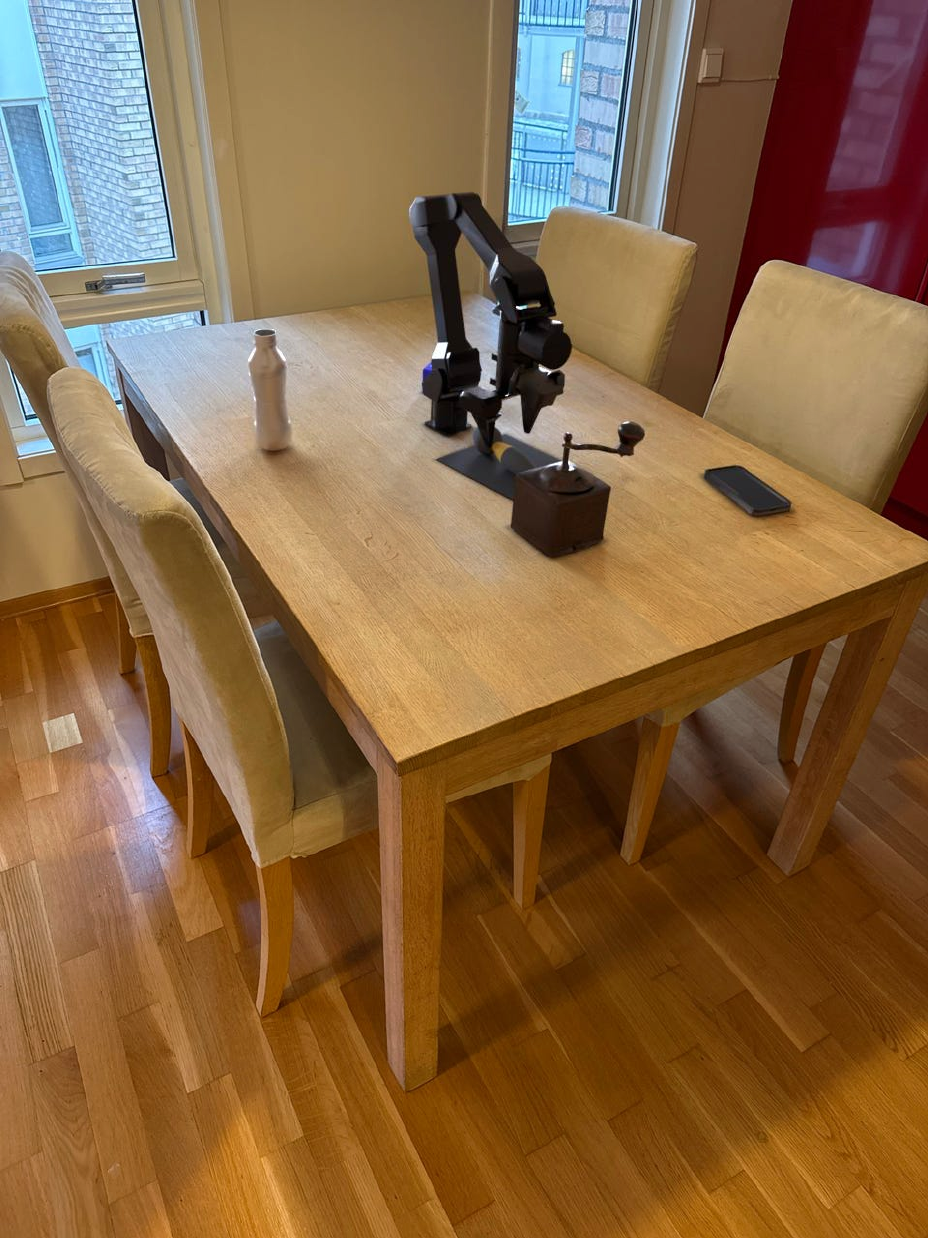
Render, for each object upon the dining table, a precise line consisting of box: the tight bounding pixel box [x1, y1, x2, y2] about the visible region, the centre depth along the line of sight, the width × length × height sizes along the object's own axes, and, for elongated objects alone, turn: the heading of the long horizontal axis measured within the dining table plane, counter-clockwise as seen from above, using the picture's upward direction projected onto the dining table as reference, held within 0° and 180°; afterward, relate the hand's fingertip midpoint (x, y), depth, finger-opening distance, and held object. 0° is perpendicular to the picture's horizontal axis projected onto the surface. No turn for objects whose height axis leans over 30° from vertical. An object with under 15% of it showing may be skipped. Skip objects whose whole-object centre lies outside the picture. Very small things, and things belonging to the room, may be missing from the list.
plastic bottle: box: [247, 328, 293, 451], centre depth 150 cm, size 6×7×20 cm
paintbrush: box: [472, 426, 537, 475], centre depth 153 cm, size 20×5×5 cm, turn 40°
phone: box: [703, 464, 793, 517], centre depth 150 cm, size 8×1×15 cm
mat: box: [435, 433, 562, 502], centre depth 154 cm, size 20×17×1 cm
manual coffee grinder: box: [510, 420, 646, 559], centre depth 132 cm, size 16×11×18 cm
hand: (508, 439), depth 152 cm, fingers open, 9 cm apart
